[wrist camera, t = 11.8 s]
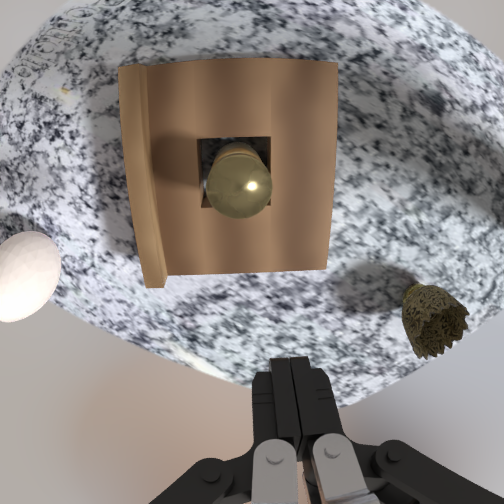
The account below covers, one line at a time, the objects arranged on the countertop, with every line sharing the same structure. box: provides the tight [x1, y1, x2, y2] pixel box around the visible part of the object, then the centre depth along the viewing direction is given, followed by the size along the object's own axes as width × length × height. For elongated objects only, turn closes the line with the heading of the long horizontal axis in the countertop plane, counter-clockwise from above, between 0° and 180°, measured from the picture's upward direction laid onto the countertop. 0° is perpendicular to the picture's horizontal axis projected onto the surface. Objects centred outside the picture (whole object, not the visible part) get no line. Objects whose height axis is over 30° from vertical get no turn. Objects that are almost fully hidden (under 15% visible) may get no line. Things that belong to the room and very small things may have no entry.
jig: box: [118, 58, 338, 288], centre depth 23 cm, size 16×18×5 cm
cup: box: [402, 283, 470, 360], centre depth 30 cm, size 7×7×8 cm
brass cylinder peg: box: [206, 142, 273, 219], centre depth 22 cm, size 4×4×8 cm
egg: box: [0, 231, 61, 322], centre depth 23 cm, size 7×7×12 cm
